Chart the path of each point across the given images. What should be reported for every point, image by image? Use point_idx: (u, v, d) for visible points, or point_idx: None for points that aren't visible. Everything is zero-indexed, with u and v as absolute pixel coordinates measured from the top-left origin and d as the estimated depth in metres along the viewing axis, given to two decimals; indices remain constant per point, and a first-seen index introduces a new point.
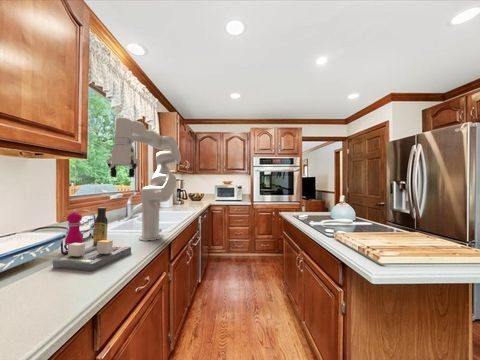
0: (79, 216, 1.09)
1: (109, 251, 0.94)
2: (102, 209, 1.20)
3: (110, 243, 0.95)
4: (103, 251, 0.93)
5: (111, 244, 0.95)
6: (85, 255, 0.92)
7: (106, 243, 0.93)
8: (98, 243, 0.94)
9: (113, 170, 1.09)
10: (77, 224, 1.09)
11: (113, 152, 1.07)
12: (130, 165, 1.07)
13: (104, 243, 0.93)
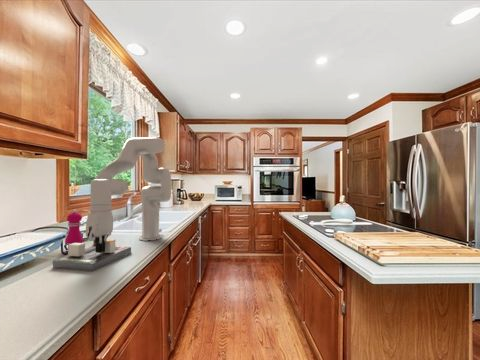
0: (79, 216, 1.09)
1: (112, 250, 0.96)
2: None
3: (113, 242, 0.96)
4: (106, 249, 0.95)
5: (114, 243, 0.97)
6: (85, 255, 0.92)
7: (109, 242, 0.95)
8: None
9: None
10: (77, 224, 1.09)
11: (98, 222, 0.89)
12: (106, 237, 0.94)
13: (107, 242, 0.95)
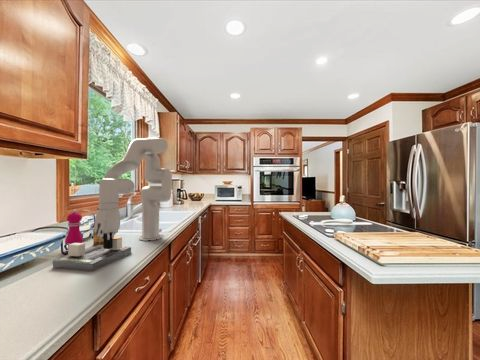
0: (79, 216, 1.09)
1: (119, 247, 1.00)
2: None
3: (119, 240, 1.00)
4: (113, 247, 0.99)
5: (120, 241, 1.01)
6: (85, 255, 0.92)
7: (116, 240, 0.99)
8: None
9: None
10: (77, 224, 1.09)
11: (106, 219, 0.93)
12: (113, 234, 0.98)
13: (114, 240, 0.99)
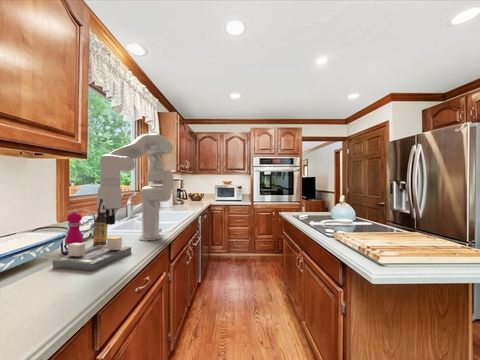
0: (79, 216, 1.09)
1: (118, 247, 1.00)
2: None
3: (119, 240, 1.00)
4: (112, 247, 0.99)
5: (120, 241, 1.01)
6: (85, 255, 0.92)
7: (116, 240, 0.99)
8: (108, 240, 0.99)
9: None
10: (77, 224, 1.09)
11: (108, 195, 0.94)
12: (115, 211, 0.99)
13: (114, 240, 0.99)
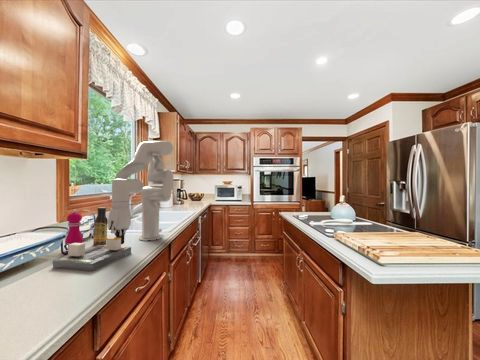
0: (79, 216, 1.09)
1: (118, 247, 0.99)
2: (102, 209, 1.20)
3: (119, 240, 1.00)
4: (112, 247, 0.99)
5: (120, 241, 1.00)
6: (85, 255, 0.92)
7: (115, 240, 0.98)
8: (107, 240, 0.99)
9: None
10: (77, 224, 1.09)
11: (119, 217, 1.00)
12: (125, 231, 1.05)
13: (113, 240, 0.98)
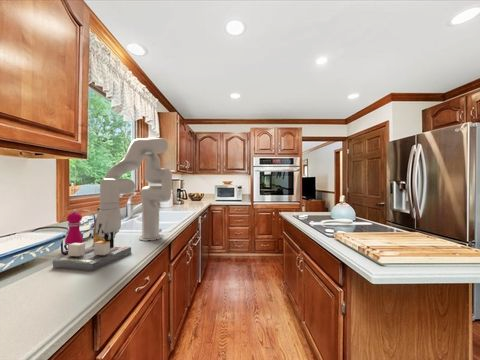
0: (79, 216, 1.09)
1: (106, 252, 0.93)
2: None
3: (107, 244, 0.93)
4: (100, 252, 0.92)
5: (108, 245, 0.94)
6: (85, 255, 0.92)
7: (103, 244, 0.92)
8: (95, 244, 0.92)
9: None
10: (77, 224, 1.09)
11: (107, 219, 0.94)
12: (114, 234, 0.99)
13: (101, 244, 0.92)
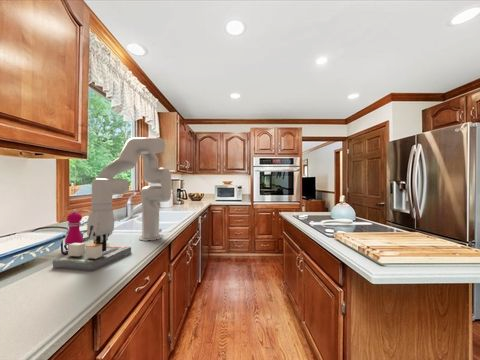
0: (79, 216, 1.09)
1: (98, 255, 0.89)
2: None
3: (99, 247, 0.89)
4: (91, 255, 0.88)
5: (100, 248, 0.90)
6: None
7: (95, 247, 0.88)
8: (86, 247, 0.88)
9: None
10: (77, 224, 1.09)
11: (99, 221, 0.89)
12: (107, 236, 0.95)
13: (93, 247, 0.88)
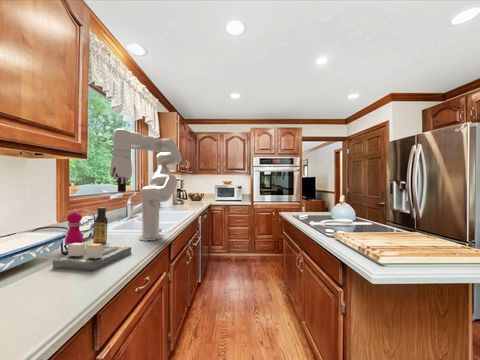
0: (79, 216, 1.09)
1: (99, 255, 0.89)
2: (102, 209, 1.20)
3: (100, 247, 0.89)
4: (92, 255, 0.88)
5: (101, 248, 0.90)
6: (85, 255, 0.92)
7: (95, 247, 0.88)
8: (87, 247, 0.88)
9: None
10: (77, 224, 1.09)
11: (121, 164, 1.05)
12: (126, 180, 1.10)
13: (93, 247, 0.88)
